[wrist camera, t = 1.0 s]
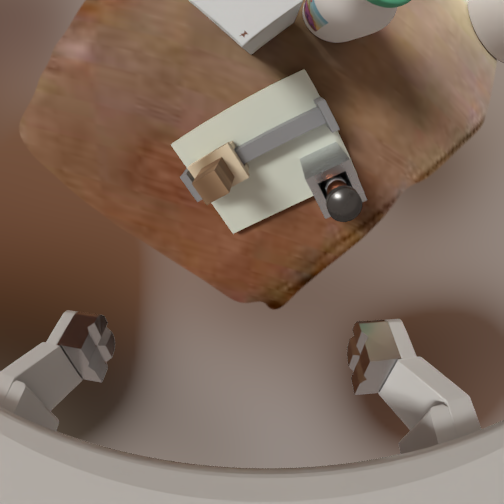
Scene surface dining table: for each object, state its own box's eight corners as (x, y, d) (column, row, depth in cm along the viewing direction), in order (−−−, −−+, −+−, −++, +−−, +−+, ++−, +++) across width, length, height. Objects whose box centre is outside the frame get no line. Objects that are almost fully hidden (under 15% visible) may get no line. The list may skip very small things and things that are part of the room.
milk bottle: (370, 9, 26) (449, -25, 10) (347, 53, 30) (416, 46, 14) (315, -19, 25) (353, -83, 9) (291, 26, 29) (311, -13, 13)
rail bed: (303, 69, 32) (308, 69, 28) (355, 172, 40) (364, 185, 36) (173, 142, 39) (162, 152, 35) (233, 229, 46) (230, 247, 42)
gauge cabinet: (334, 139, 37) (350, 159, 30) (350, 174, 40) (368, 202, 33) (298, 156, 39) (305, 179, 32) (316, 190, 42) (326, 220, 34)
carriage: (231, 137, 37) (221, 156, 30) (250, 169, 39) (245, 194, 32) (193, 160, 39) (175, 183, 32) (213, 189, 41) (201, 217, 34)
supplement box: (295, 22, 29) (307, 2, 18) (250, 56, 32) (240, 50, 21) (255, -16, 26) (248, -50, 15) (211, 18, 29) (184, -1, 19)
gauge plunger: (338, 158, 34) (354, 183, 27) (349, 183, 36) (366, 213, 29) (312, 171, 35) (321, 198, 29) (324, 195, 37) (335, 227, 30)
